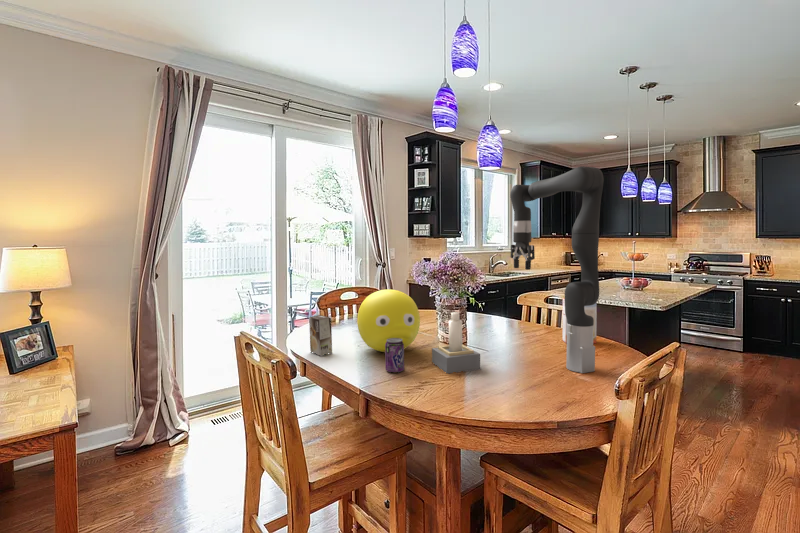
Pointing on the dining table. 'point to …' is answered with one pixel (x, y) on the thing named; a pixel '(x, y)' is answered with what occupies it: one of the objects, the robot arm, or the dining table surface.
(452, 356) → the display riser
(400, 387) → the dining table surface
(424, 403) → the dining table surface
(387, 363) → the beverage can
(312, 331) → the coffee box
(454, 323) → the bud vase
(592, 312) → the cracker box
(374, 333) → the head sculpture
